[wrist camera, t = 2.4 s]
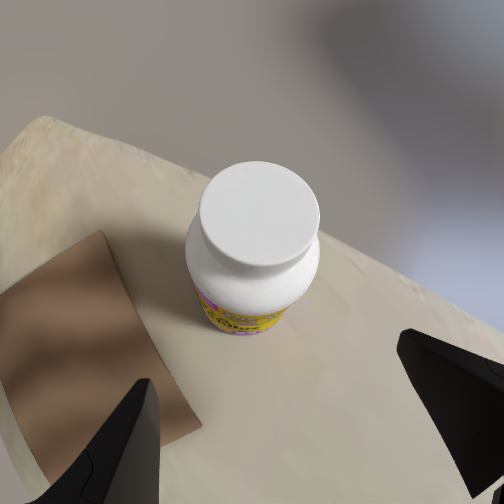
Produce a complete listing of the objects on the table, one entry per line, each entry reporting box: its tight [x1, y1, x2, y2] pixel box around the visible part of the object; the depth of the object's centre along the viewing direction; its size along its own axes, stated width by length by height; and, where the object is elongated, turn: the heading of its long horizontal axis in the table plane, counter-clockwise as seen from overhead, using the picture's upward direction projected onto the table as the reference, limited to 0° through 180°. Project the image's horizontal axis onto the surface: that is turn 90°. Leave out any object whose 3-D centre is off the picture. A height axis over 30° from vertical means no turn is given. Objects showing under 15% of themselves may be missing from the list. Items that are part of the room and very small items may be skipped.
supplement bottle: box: [185, 161, 320, 336], centre depth 17 cm, size 7×7×13 cm
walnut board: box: [0, 230, 202, 485], centre depth 18 cm, size 18×16×1 cm
